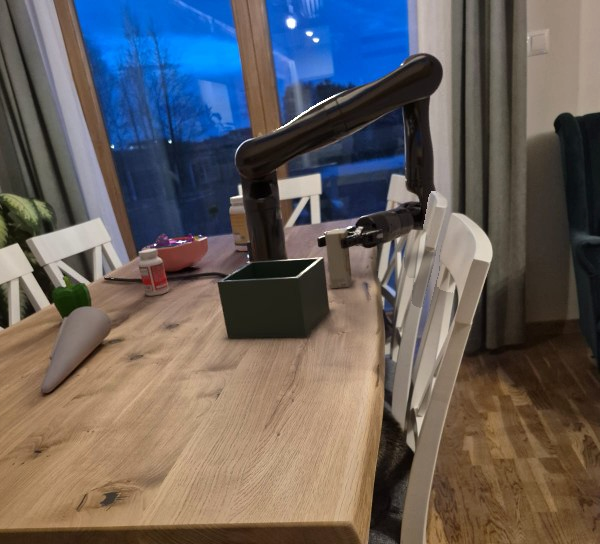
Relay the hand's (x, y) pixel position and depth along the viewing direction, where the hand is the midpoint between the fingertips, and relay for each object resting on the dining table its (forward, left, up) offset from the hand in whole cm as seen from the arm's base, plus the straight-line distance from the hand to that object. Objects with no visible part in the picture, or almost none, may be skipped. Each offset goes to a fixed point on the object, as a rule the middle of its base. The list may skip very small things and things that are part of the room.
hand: (330, 243), depth 129 cm
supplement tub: (-44, +56, -10) cm, 72 cm away
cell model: (-57, +29, -10) cm, 65 cm away
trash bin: (-4, -26, -10) cm, 28 cm away
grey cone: (-35, -47, -10) cm, 59 cm away
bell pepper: (-58, -19, -10) cm, 62 cm away
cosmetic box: (+1, +2, -10) cm, 10 cm away
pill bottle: (-49, +2, -10) cm, 50 cm away
